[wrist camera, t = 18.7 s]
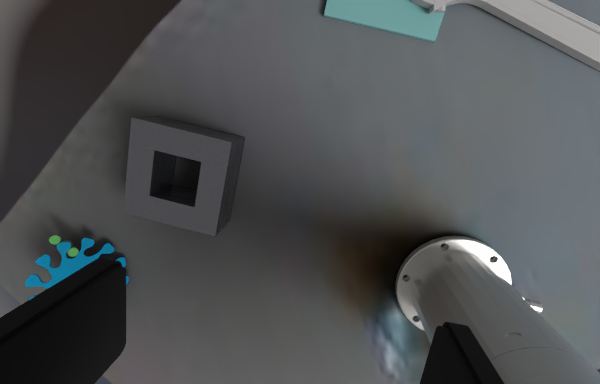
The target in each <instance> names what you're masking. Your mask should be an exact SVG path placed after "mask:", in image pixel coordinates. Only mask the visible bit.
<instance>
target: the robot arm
mask: <svg viewBox="0 0 600 384" xmlns="http://www.w3.org/2000/svg"><path fill="white" fill-rule="evenodd" d="M442 244H443V245H442ZM441 245H442V246H441ZM404 275H406V276H404ZM395 285H396V296H397V300H398V303H399V305H400V308H401V310H402V312H403V313H404V315H405V316H406V318H407V319H408V320H409V321H410V322H411V323H412V324H414V325H415V326H417V327H418V328H420V329H421V330H423V331H425V332H426V335H427V337H428V339H429V342H430V344H431V347H430V350H429V354H428V357H427V361H426V364H425V368H424V371H423V374H422V378H421V381H420V384H600V373H599V372H598V371H597V370H596V369H595V368H594V367H593V366H592V365H590V364H589V363H588V362H587V361H586V360H585V359H584V358H583V357H582V356H581V355H580V354H579V353H578V352H577V351H576V350H575V349H574V348H573V347H572V346H571V345H570V344H569V343H568V342H567V341H566V340H565V339H564V338H563V337H562V336H561V335H560V334H559V333H558V332H557V331H556V330H555V329H554V328H553V327H552V326H551V325H550V324H549V323H548V322H547V321H546V320H545V319H544V318H543V317H542V316H540V315H539V314H540V313H541V312H542V305H541V303H540V302H538V301H534V300H530V299H524V297H523V296H522V295H520V294H519V293H518V292H517V291H516V290H515V289H514V288H513V287H512V279H511V273H510V271H509V268H508V266H507V264H506V262H505V261H504V260H503V258H502V257H501V256H500V255H499V254H498V253H497V252H496V251H495V250H494V249H492V248H491V247H490V246H488V245H487V244H486V243H483V242H481V241H479V240H477V239H474V238H470V237H466V236H446V237H440V238H437V239H433V240H431V241H429V242H426V243H424V244H422V245H421V246H419V247H418V248H416V249H415V250H414V251H413V252H412V253H411V254H410V255H409V256H408V257H407V258H406V259H405V261H404V262H403V263H402V265H401V267H400V269H399V272H398V274H397V278H396V284H395ZM125 344H126V269H125V268H124V267H122V264H121V262H120V261H116V260H111V259H106V258H98V259H96V260H94V261H92V262H91V263H89V264H88V265H86V266H84V267H83V268H81V269H79V270H78V271H76V272H74V273H73V274H71V275H70V276H68V277H66V278H65V279H63V280H61V281H60V282H58V283H56V284H55V285H53V286H51V287H50V288H48V289H47V290H45V291H43V292H42V293H40V294H38V295H37V296H35V297H33V298H32V299H30V300H29V301H27V302H25V303H24V304H22V305H20V306H19V307H17V308H15V309H14V310H12V311H11V312H9V313H7V314H6V315H4V316H3V317H1V318H0V384H94V383H95V382H96V381H97V380H98V379H99V378H100V377H101V376H102V375H103V373H104V372H105V371H106V370H107V369H108V368H109V367H110V366H111V364H112V363H113V362H114V361H115V360H116V359H117V358H118V357H119V356H120V354H121V353H122V351H123V350H124V347H125Z"/></svg>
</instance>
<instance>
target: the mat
mask: <svg viewBox="0 0 600 384" xmlns="http://www.w3.org/2000/svg"><path fill="white" fill-rule="evenodd" d="M445 9H446V7H445ZM444 13H445V12H443V13H436V11H435V12H434V13H433V14H429V9H427V8H424V7H422V6H419V5H417V4H416V3H414V2H412V1H411V0H327V3H326V8H325V12H324V17H328V18H332V19H336V20H340V21H345V22H349V23H353V24H357V25H362V26H366V27H370V28H374V29H378V30H383V31H387V32H391V33H395V34H399V35H404V36H408V37H412V38H416V39H421V40H425V41H429V42H435V40H436V37H437V34H438V31H439V28H440V25H441V22H442V19H443V16H444ZM428 14H429V15H428Z"/></svg>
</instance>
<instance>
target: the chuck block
mask: <svg viewBox="0 0 600 384" xmlns="http://www.w3.org/2000/svg"><path fill="white" fill-rule="evenodd" d="M244 141H245V138H244V137H240V136H236V135H232V134H228V133H224V132H220V131H216V130H212V129H208V128H204V127H200V126H196V125H192V124H188V123H184V122H180V121H176V120H172V119H168V118H164V117H160V116H149V117H131V126H130V138H129V150H128V161H127V173H126V184H125V196H124V207H123V213H125V214H129V215H133V216H137V217H141V218H144V219H148V220H152V221H156V222H160V223H164V224H168V225H172V226H176V227H179V228H183V229H187V230H191V231H195V232H199V233H203V234H207V235H211V236H214V237H215V236H216V235H217V234H218V233H219V232H220V231H221V230H222V228H223V227H224V226H225V225H226V224H227V223H228V222H229V221H230V216H231V211H232V205H233V200H234V195H235V189H236V184H237V178H238V173H239V168H240V162H241V157H242V151H243V146H244ZM176 156H180V157H184V158H188V159H191V160H195V161H199V162H201V168H200V175H199V182H198V188H197V191H196V190H192V189H188V188H184V187H180V186H177V185H173V177H174V170H175V162H176Z"/></svg>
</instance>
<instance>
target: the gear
mask: <svg viewBox="0 0 600 384" xmlns="http://www.w3.org/2000/svg"><path fill="white" fill-rule="evenodd" d="M49 242H50V243H51V244H54V245H57V250H58V252H59V254H60V256H61V258H62V261H61V265H60V266H59V267H58V268H52V267H51V265H50V263H51V257H50V256H49V255H47V254H46V255H43V256H41V257H40V258H38V259H37V260H36V264H37V265H39V266H42V267H44V268H46V269H47V270H48V271H49V272H50V274H51V277H52V279H51V281H50V282H48V283H44V282H42V281H41V279H40V277H39V276H38V275H36V274H33V275H30V276H29V277H28V279H27V281H26V283H25V285H26V286H27V287H34V286H41V287H45V288H47V289H48V288H50V287H51V286H53V285H55V284H56V283H58V282H60V281H61V280H63V279H65V278H66V277H68V276H70V275H71V274H73V273H74V272H76V271H78V270H79V269H81V268H83V267H84V266H86V265H88V264H89V263H91V262H92V261H94V260H96V259H98V258H99V256H100V255H101V254H110V253H112V252H113V251H114V248H113V246H112V245H111V244H109V243H107V244H105V245H104V246H103V248H102V249H101V250H100V251H99V252H98V253H97V254H95V255H93V256H90V257H87V256H85V255H84V251H85V250H86V249H87V248H90V247H92V246H93V245H94V240H92V239H89V238H83V240H82V242H81V243H82V246H81V250H80V252H79V250H78V249H77V248H75V246H74V244H73V242H72V241H70V240H61V237H59V236H57V235H53V236H51V237H50V239H49ZM116 261H120V262H121V264H122V267H125V266H126V260H125V258H124V257H120V258H118V259H116ZM128 281H129V277H128V276H126V285H127V283H128ZM35 296H37V295H35ZM35 296H32V297H30V298H29V300H30V299H32V298H33V297H35Z"/></svg>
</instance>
